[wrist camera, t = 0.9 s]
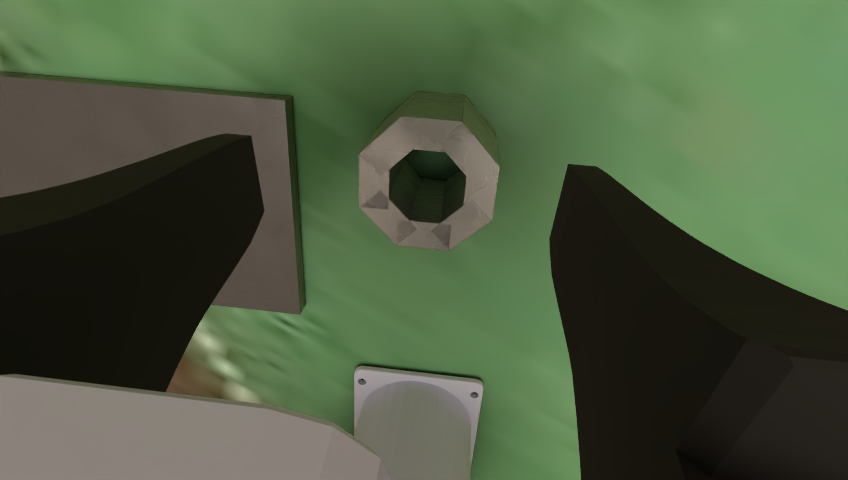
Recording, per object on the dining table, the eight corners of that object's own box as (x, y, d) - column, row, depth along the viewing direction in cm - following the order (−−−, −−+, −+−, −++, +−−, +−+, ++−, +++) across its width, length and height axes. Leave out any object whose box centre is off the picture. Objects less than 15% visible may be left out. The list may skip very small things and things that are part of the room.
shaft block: (305, 304, 28) (268, 372, 23) (47, 276, 29) (-42, 335, 24) (292, 96, 23) (239, 126, 18) (-26, 69, 24) (-162, 90, 19)
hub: (485, 206, 24) (487, 254, 20) (380, 196, 25) (359, 241, 20) (499, 97, 22) (505, 125, 18) (382, 88, 22) (359, 112, 18)
